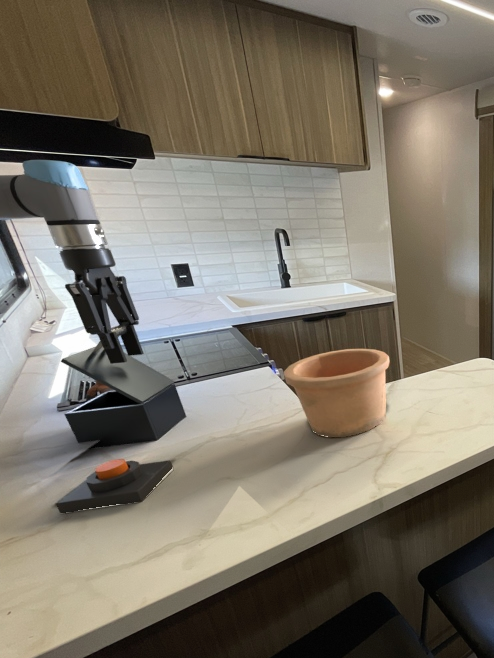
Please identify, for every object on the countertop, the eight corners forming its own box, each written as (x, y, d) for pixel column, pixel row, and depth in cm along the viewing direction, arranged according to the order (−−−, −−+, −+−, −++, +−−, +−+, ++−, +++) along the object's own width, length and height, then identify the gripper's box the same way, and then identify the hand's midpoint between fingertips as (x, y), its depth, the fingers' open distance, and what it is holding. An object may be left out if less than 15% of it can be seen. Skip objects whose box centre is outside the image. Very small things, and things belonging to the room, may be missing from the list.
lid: (60, 361, 80) (83, 328, 79) (104, 344, 92) (125, 315, 91) (140, 404, 86) (163, 374, 85) (173, 383, 98) (193, 356, 97)
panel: (60, 514, 66) (49, 494, 65) (103, 479, 76) (94, 461, 74) (142, 502, 68) (133, 482, 67) (174, 469, 78) (167, 451, 76)
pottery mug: (83, 409, 110) (90, 379, 111) (129, 413, 116) (136, 385, 118) (81, 410, 101) (89, 378, 103) (131, 414, 108) (138, 384, 109)
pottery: (363, 394, 108) (354, 343, 103) (416, 415, 95) (408, 357, 90) (282, 426, 93) (266, 368, 88) (330, 455, 80) (315, 389, 74)
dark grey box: (81, 450, 87) (63, 414, 84) (120, 424, 99) (106, 391, 95) (157, 440, 89) (142, 405, 86) (186, 416, 101) (174, 384, 98)
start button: (92, 481, 69) (88, 473, 68) (109, 468, 72) (105, 460, 72) (119, 478, 69) (115, 469, 69) (134, 465, 73) (130, 457, 72)
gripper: (70, 249, 72) (119, 369, 81) (134, 245, 89) (169, 345, 97) (21, 251, 71) (76, 374, 79) (95, 247, 88) (134, 348, 96)
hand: (127, 358), depth 88 cm, fingers closed on lid, 5 cm apart
